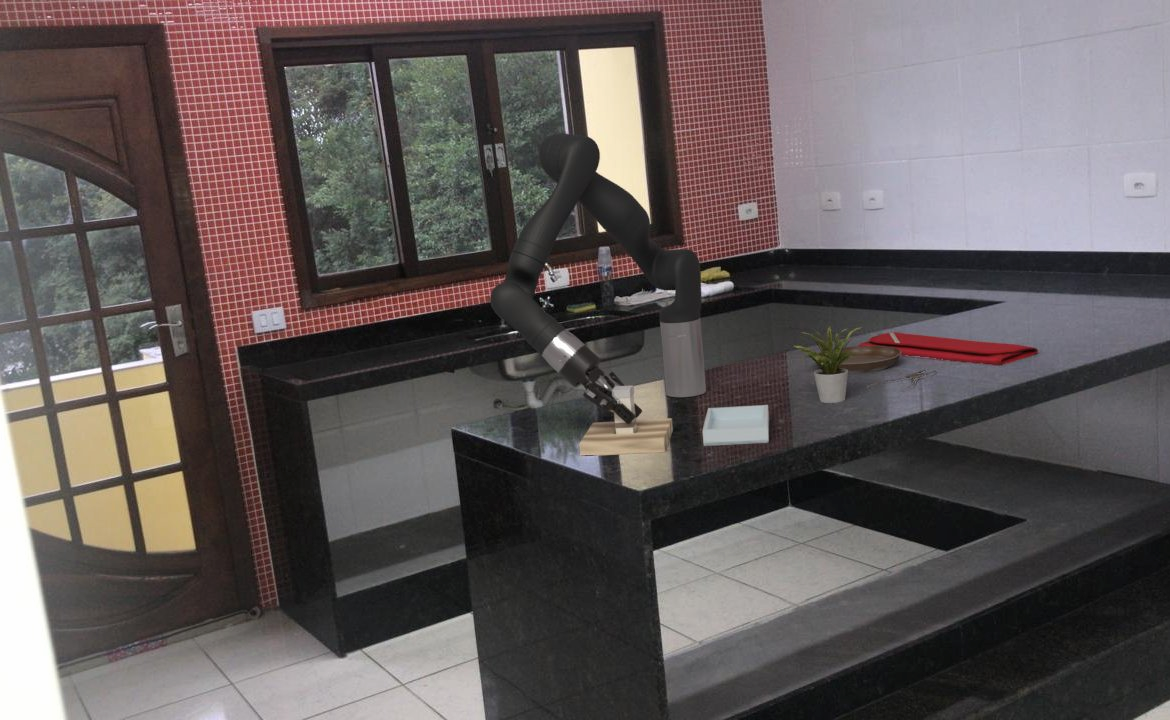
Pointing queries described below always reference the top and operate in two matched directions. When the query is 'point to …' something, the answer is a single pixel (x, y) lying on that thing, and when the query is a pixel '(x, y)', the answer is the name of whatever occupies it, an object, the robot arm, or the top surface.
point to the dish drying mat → (952, 348)
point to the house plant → (830, 366)
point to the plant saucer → (869, 358)
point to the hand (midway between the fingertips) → (635, 417)
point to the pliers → (903, 378)
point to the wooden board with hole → (627, 438)
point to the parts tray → (736, 425)
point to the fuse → (627, 399)
